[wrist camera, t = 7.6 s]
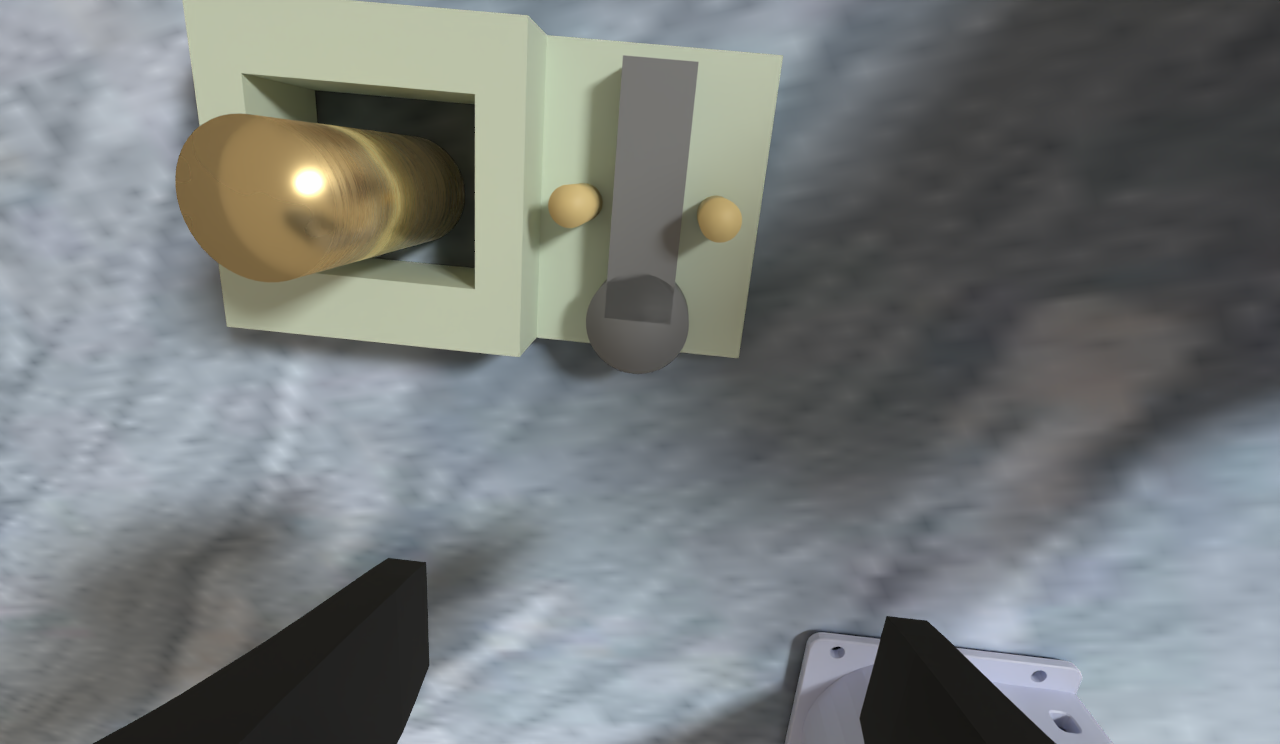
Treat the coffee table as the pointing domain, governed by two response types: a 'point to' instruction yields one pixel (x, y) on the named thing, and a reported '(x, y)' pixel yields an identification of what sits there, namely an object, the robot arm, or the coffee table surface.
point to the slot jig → (521, 177)
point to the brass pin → (311, 194)
